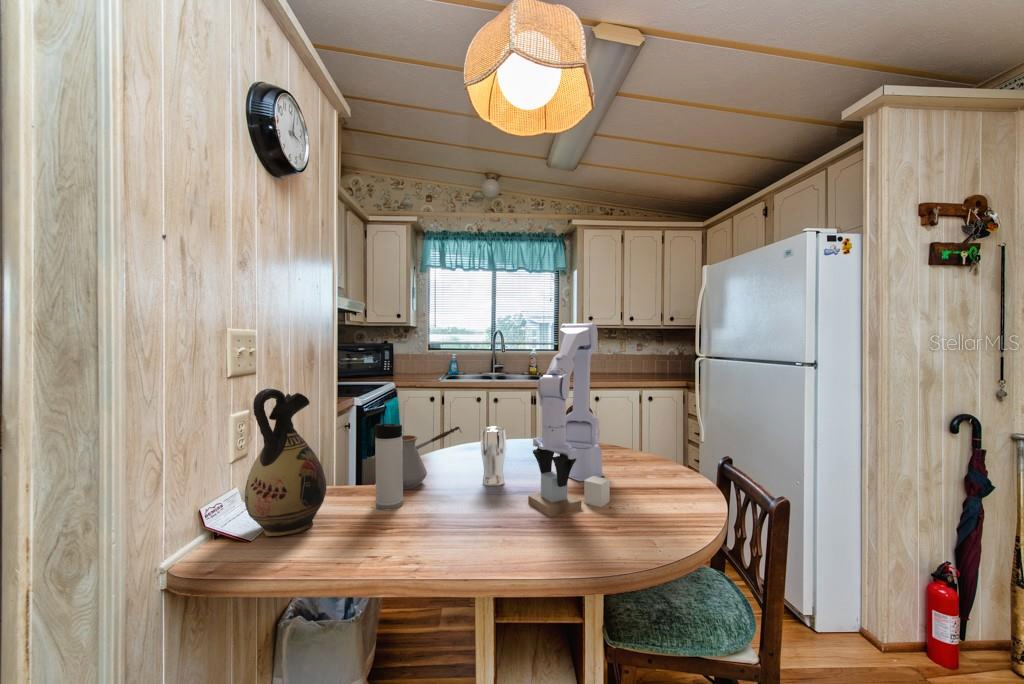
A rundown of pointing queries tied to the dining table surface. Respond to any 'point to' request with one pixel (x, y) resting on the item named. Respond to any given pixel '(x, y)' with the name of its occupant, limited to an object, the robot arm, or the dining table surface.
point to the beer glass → (493, 454)
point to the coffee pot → (415, 459)
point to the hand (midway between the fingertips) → (554, 482)
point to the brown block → (554, 504)
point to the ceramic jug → (283, 470)
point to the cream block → (596, 491)
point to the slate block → (552, 487)
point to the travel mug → (389, 466)
